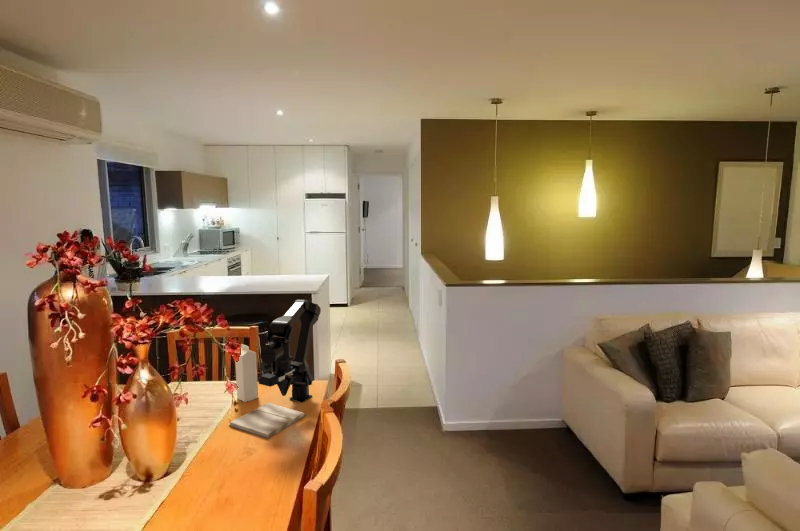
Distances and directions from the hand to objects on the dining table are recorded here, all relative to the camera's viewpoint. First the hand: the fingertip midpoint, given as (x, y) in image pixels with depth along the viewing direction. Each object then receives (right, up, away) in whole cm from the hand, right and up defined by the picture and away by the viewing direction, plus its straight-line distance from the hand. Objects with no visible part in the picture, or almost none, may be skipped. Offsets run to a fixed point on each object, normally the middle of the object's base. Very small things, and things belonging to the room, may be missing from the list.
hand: (283, 395), depth 169 cm
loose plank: (-2, -7, 0) cm, 7 cm away
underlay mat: (-5, -8, -5) cm, 10 cm away
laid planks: (-6, -8, -8) cm, 13 cm away
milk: (-18, -6, +15) cm, 24 cm away
